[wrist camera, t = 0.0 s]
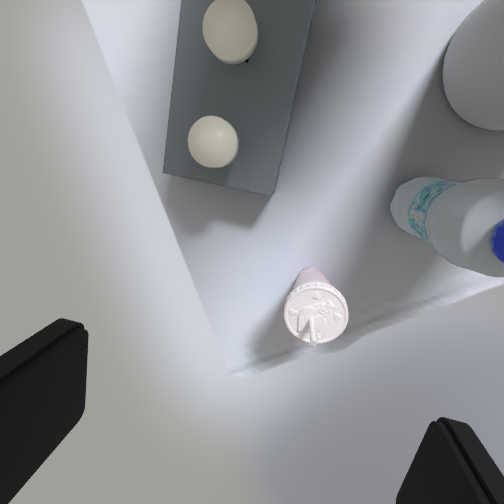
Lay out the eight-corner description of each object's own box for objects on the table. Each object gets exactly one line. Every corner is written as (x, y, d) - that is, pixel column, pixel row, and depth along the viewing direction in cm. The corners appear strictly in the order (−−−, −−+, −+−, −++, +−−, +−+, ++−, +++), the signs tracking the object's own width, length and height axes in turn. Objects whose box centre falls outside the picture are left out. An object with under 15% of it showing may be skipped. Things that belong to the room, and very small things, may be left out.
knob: (210, 121, 33) (191, 111, 27) (250, 129, 33) (239, 120, 27) (204, 163, 35) (184, 162, 29) (242, 170, 34) (231, 172, 28)
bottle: (384, 234, 37) (476, 308, 18) (384, 177, 35) (486, 190, 16) (445, 230, 36) (613, 303, 17) (448, 170, 34) (639, 176, 15)
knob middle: (224, 25, 31) (206, -9, 25) (267, 32, 31) (260, -1, 24) (217, 74, 32) (198, 52, 26) (258, 81, 32) (249, 62, 26)
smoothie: (275, 279, 40) (265, 335, 27) (313, 246, 39) (321, 289, 25) (309, 313, 41) (315, 384, 28) (348, 282, 39) (374, 343, 26)
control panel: (212, -93, 31) (196, -141, 26) (332, -77, 30) (338, -122, 25) (179, 171, 38) (162, 172, 34) (274, 192, 37) (271, 196, 33)
